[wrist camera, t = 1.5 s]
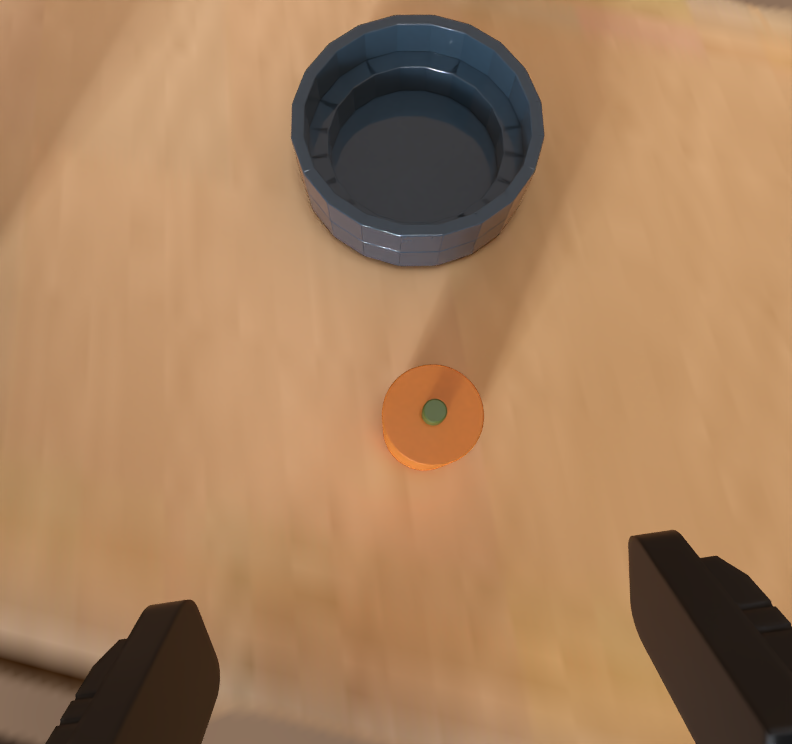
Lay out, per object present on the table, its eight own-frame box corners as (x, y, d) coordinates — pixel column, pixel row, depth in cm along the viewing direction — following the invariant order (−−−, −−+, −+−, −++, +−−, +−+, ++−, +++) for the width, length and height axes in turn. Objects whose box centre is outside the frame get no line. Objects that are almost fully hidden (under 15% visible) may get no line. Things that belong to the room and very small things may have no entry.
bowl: (258, 190, 37) (239, 146, 32) (386, 37, 40) (386, -25, 35) (444, 312, 36) (453, 285, 31) (564, 143, 39) (589, 94, 34)
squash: (366, 439, 34) (360, 423, 26) (413, 373, 35) (420, 338, 27) (435, 486, 33) (450, 486, 25) (480, 418, 34) (508, 397, 26)
